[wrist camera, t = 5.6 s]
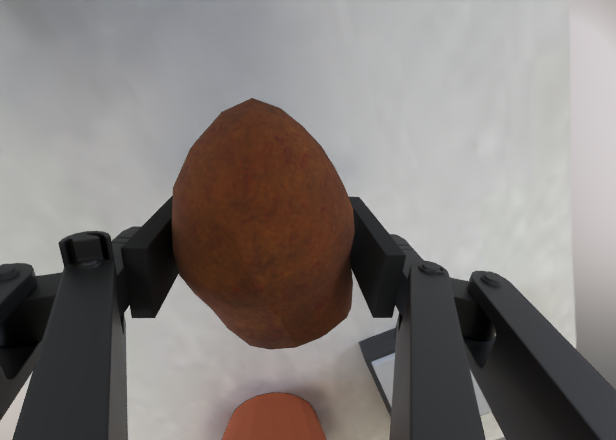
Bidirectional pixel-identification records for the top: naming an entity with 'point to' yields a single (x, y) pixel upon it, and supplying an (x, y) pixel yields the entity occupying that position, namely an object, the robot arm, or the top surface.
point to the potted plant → (274, 419)
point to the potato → (264, 228)
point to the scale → (382, 368)
